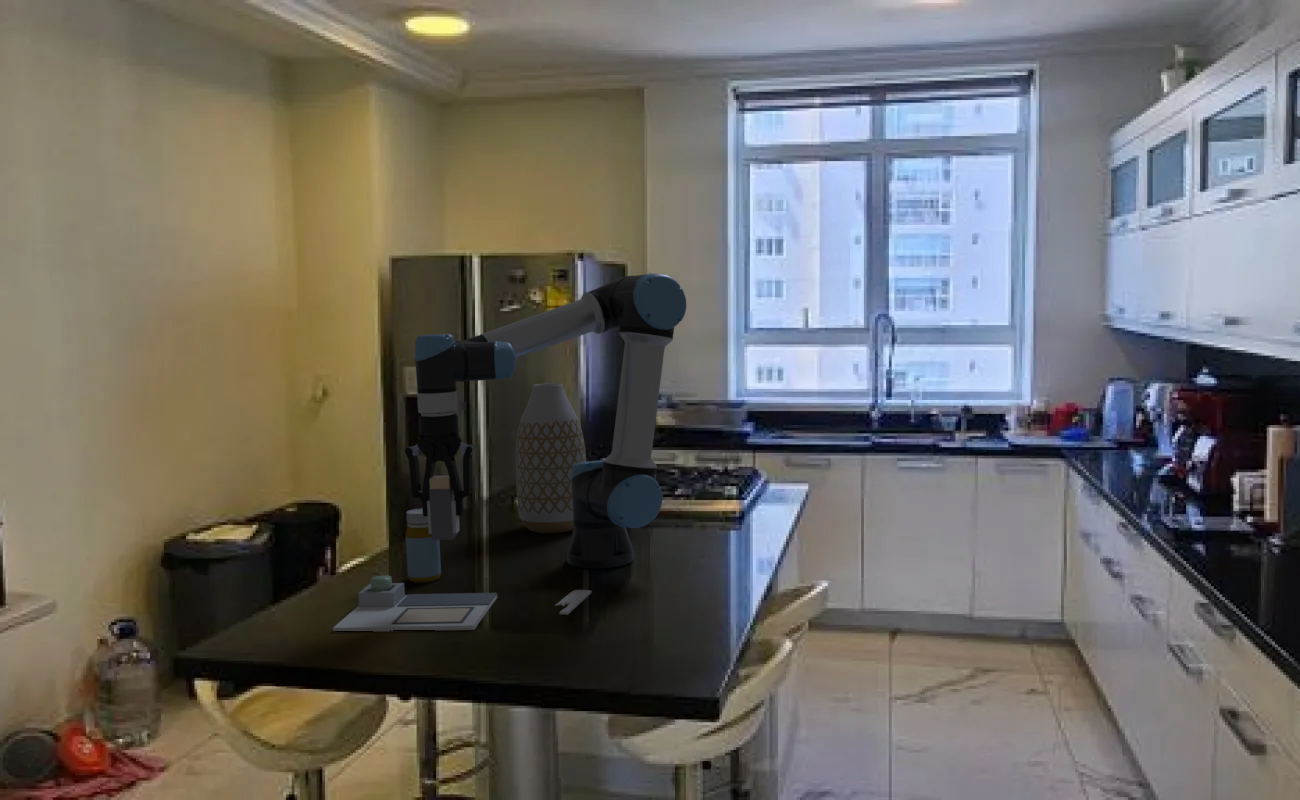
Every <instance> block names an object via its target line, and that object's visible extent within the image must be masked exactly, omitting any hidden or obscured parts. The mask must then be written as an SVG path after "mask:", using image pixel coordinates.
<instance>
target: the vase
mask: <svg viewBox="0 0 1300 800" xmlns="http://www.w3.org/2000/svg"><path fill="white" fill-rule="evenodd" d="M519 421H520V422H519V426H518V430H517V434H516V436H517V437H516V441H515V442H516V443H515V444H516V445H515V484H516V485H515V487H516V504H517V511H518V517H519V519H520V521H521V523H522V524H523V526H525V528H527V529H528V530H529V531H531V532H533V533H536V532H537V533H539V534H561V533H567V532H571V531H572V532H573V529H574V521H573V501H572V481H571V475H572V467H573V465H575V464H576V463H581V462H587V455H586V445H585V439H584V434H583V430H582V427H581V424H580V423H581V422H580V420H579V418H578V415H577V414H576V412H575V410H574V408H573V406H572V404H571V402H570V401H569V399H568V396H567V394H566V391H565V389H564V386H563V384H562V383H553V382H552V383H536V384H533V385H532V390H531V393H530V396H529V400H528V402H527V405H526V406H525V408H524V411H523V414H522V416H521V419H520V420H519Z"/></svg>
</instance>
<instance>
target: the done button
mask: <svg viewBox="0 0 1300 800" xmlns="http://www.w3.org/2000/svg"><path fill="white" fill-rule="evenodd" d="M392 583H393V580H392V575H391V576H390V575H376V576H373V577H371V578H370V584H371V591H390V590H391V589H392Z"/></svg>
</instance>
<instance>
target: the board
mask: <svg viewBox="0 0 1300 800" xmlns="http://www.w3.org/2000/svg"><path fill="white" fill-rule="evenodd" d="M497 598H498V593H497V592H463V593H461V592H460V593H459V592H457V593H409V594H406V593H405V583H404V582H392V589H391V590H390V591H371V583H369V584H368V585H366V586H365V587H364V588H363V589H362V590H361V591H359V592H358V605H357V606H356V607H355V608H353V610H352V611H351V612H350V613H348V614H347V615H346V616H344V618H343V619H341V620H340V621H339V622H338V623H336V625H334V626H333V627H332V632H333V631H373V632H394V631H393V630H435V631H474V630H475V629H476V628H477V626H478V625H479V624H480V623H481V621H482V619H483V618H484V616H485V615H486V613H488V611H489V610H490V608H492V605H493V604H494V603H495V601H496V600H497ZM390 630H391V631H390Z"/></svg>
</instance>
